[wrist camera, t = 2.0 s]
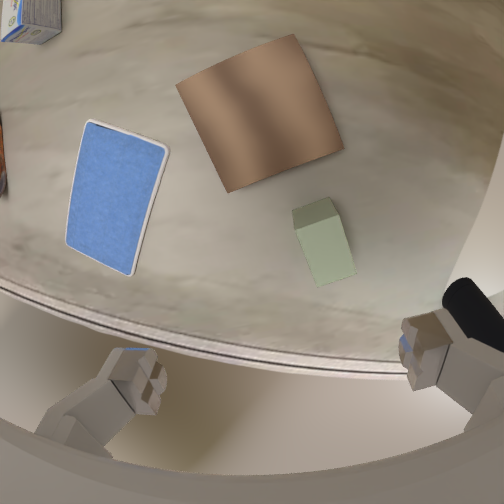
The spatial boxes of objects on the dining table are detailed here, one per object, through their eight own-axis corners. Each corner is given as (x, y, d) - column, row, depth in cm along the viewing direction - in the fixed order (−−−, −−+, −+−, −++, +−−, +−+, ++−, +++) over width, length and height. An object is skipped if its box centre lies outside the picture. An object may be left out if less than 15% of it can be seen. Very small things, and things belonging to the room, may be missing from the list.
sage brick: (328, 196, 32) (338, 214, 27) (346, 248, 35) (356, 273, 30) (292, 210, 33) (294, 230, 28) (312, 260, 36) (317, 287, 31)
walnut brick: (291, 45, 25) (293, 33, 21) (334, 143, 30) (344, 148, 25) (190, 88, 28) (175, 85, 24) (234, 181, 33) (227, 193, 28)
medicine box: (41, 5, 21) (2, -2, 13) (62, -9, 20) (24, -21, 13) (41, 45, 24) (-1, 42, 17) (63, 31, 24) (20, 24, 16)
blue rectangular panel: (90, 116, 30) (85, 116, 29) (174, 145, 31) (170, 147, 30) (68, 241, 39) (63, 245, 37) (135, 275, 40) (132, 280, 39)
